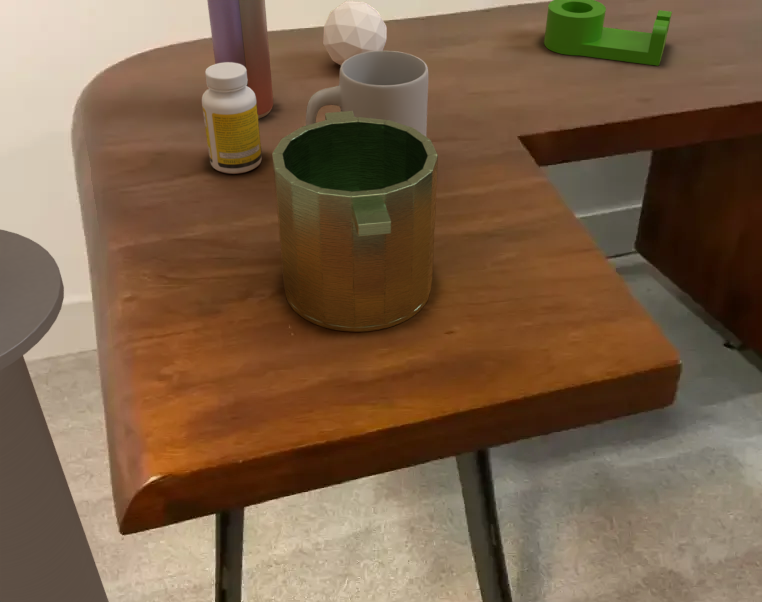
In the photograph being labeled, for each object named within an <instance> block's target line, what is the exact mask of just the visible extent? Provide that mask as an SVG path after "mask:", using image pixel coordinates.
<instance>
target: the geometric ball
mask: <svg viewBox="0 0 762 602" xmlns="http://www.w3.org/2000/svg"><path fill="white" fill-rule="evenodd" d="M387 28H388V26H387V25H386V23H385V21H384V19H383V17H382V16H381V14H380V13H379V11H378V10H377V9H376V8H374V7H373V6H372V5H370V4H369V3H367V2H364V1H359V0H358V1H357V0H345V1H344V2H342V3H341V4H339V5H338V6H337V7H334V9H332V10H331V11H330V12H329V14H328V16H327V19H326V20H325V23H324V25H323V37H322V38H323V39H322V46H323V47H324V49H325V50H326V52H327V54H328V55H329V57H330V58H331V59H330V60H331V61H332V62H334V63H336V64H337V65H340V66H341V65H342V63H343V62H344V61H345V60H347V59H348V58H350V57H352V56H354V55H357V54H361V53H365V52H371V51H384V50H385V49H384V48H385V47H386V43H387V39H388V37H387V34H388V33H387V31H388V29H387Z"/></svg>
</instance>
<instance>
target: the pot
mask: <svg viewBox="0 0 762 602" xmlns="http://www.w3.org/2000/svg"><path fill="white" fill-rule="evenodd" d="M324 118H325V119H324V120H321V121H318V122H317V121H316V123H314V124H310V125H307V126H306V125H303V126H301V127H299V128H297V129H295V130H293V132H290V133H289V134H287V135H285V136H284V137H282V138H281V139H280V140H279V142H278V144H277V145H276V147H275V148H274V150H273V152H272V154H271V156H272V157H271V158H272V168H273V179H274V191H275V201H276V203H275V204H276V213H277V226H278V236H279V246H280V247H279V248H280V259H281V269H282V270H281V271H282V279H283V287H284V294H285V295H284V296H285V298H286V301H287V303H288V305H289V306H290V307H291V309H292V310H293V311H294V312H295V313H296V314H297V315H299V316H300V317H301V318H303V319H304V320H305V321H308V322H309V323H312V324H313V325H316V326H318V327H322V328H324V329H325V328H327V329H329V330H333V331H334V330H335V331H339V332H347V333H348V332H350V333H351V332H352V333H353V332H354V333H360V332H361V333H364V332H373V331H378V330H379V331H380V330H385V329H388V328H391V327H394V326H397V325H400V324H402V323H404V322H406V321H408V320H409V319H411V318H413V316H416V314H418V313H419V312H420V311H422V309H423V308H424V306H425V305H426V304H427V302H428V300H429V297H430V294H431V288H432V285H433V270H434V252H435V251H434V249H435V228H436V206H437V186H438V185H437V183H438V166H439V165H438V164H439V163H438V162H439V159H438V158H439V155H438V152H437V151H436V148H435V146H434V144H433V142H432V140H431V139H430V138H428V136H427V135H426V136H424V135H423V134H421V133H420V132H418V131H417V130H416V129H414V128H412V127H409V126H406V125H403V124H399V123H396V122H393V121H390V120H383V119H373V118H363V117H355V116H354V113H353V111H344V112H341V111H334V112H325V113H324Z"/></svg>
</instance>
